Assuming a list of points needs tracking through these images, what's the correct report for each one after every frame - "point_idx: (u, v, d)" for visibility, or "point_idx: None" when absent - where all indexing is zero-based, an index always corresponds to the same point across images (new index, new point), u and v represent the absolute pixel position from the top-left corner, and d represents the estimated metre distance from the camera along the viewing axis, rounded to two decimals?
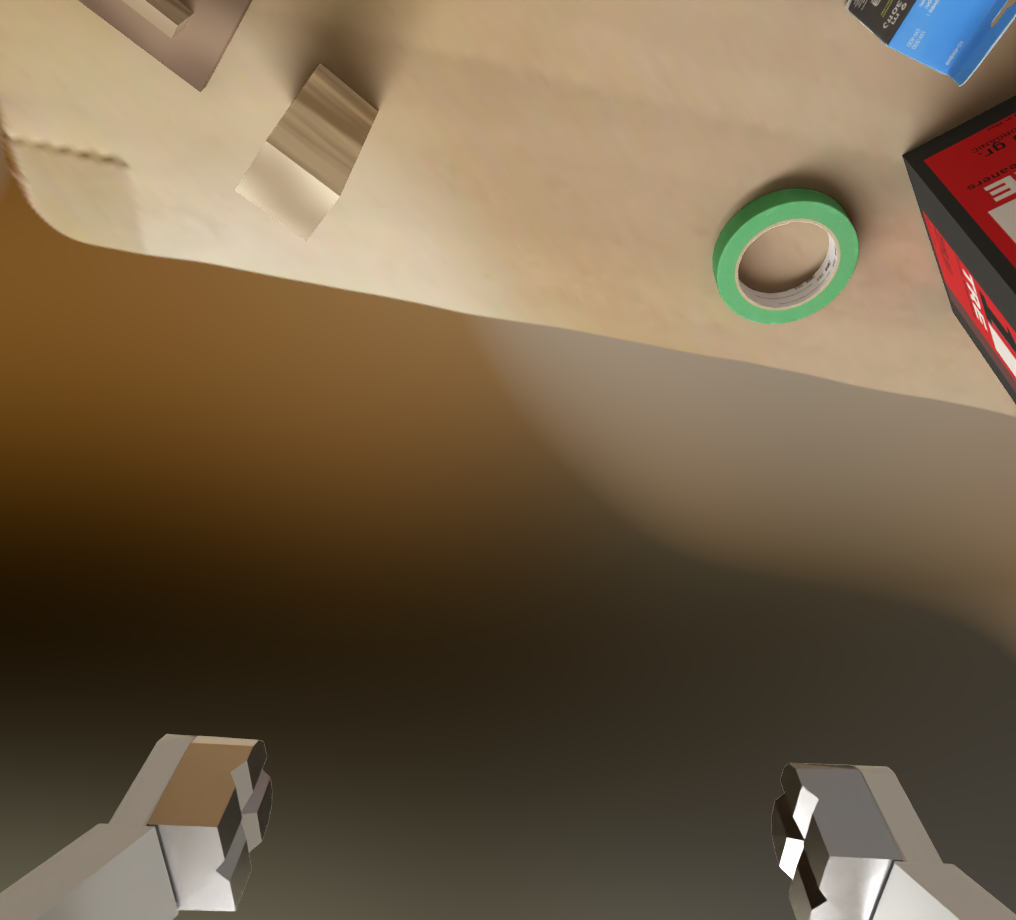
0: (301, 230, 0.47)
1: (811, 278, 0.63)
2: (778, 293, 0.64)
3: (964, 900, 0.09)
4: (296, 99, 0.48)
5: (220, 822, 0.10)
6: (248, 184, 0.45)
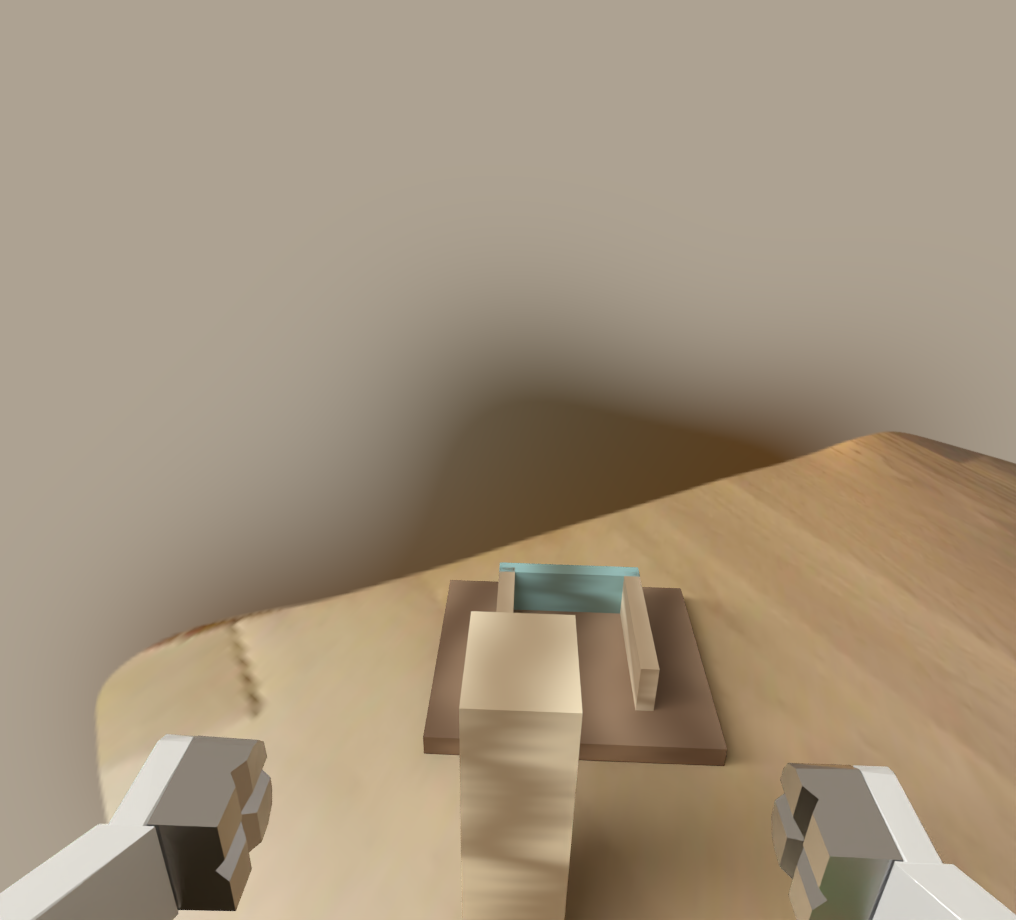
0: (472, 694, 0.25)
1: None
2: None
3: (964, 899, 0.09)
4: None
5: (220, 822, 0.10)
6: (494, 619, 0.28)
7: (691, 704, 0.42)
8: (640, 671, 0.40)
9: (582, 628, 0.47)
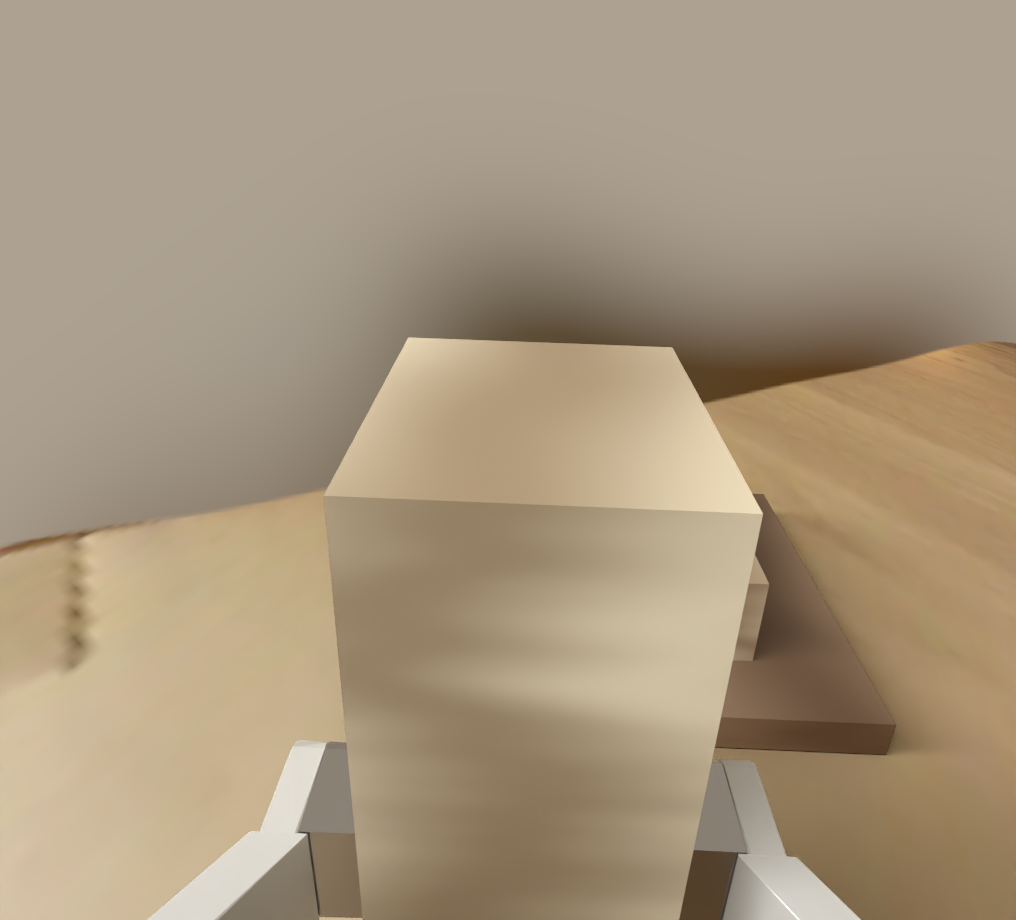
0: (379, 467, 0.07)
1: None
2: None
3: (800, 891, 0.09)
4: None
5: None
6: (464, 348, 0.11)
7: (815, 651, 0.24)
8: None
9: None
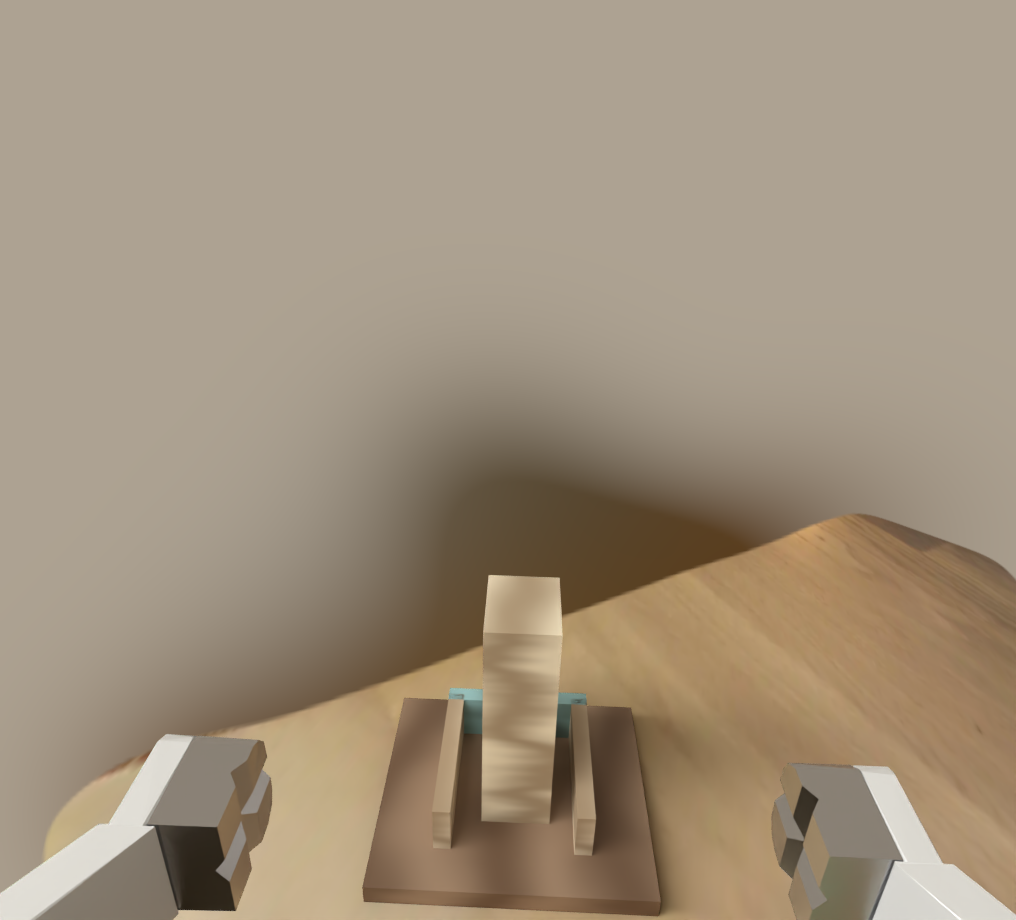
0: (491, 624, 0.38)
1: None
2: None
3: (964, 899, 0.09)
4: None
5: (220, 822, 0.10)
6: (504, 580, 0.42)
7: (630, 848, 0.42)
8: None
9: None
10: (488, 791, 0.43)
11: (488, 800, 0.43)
